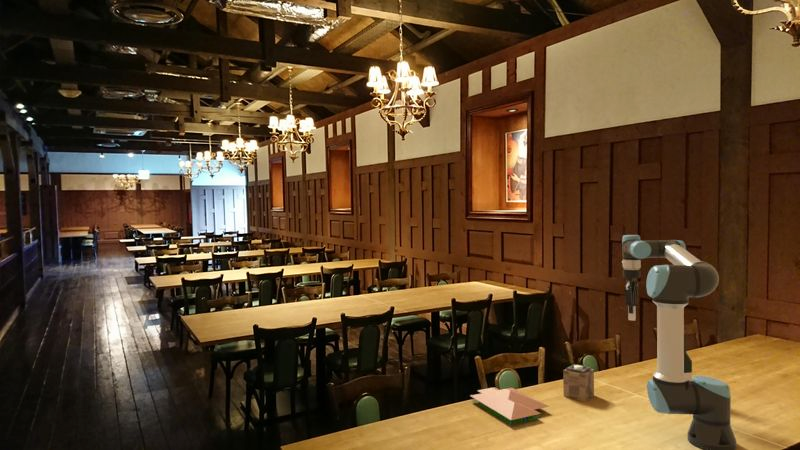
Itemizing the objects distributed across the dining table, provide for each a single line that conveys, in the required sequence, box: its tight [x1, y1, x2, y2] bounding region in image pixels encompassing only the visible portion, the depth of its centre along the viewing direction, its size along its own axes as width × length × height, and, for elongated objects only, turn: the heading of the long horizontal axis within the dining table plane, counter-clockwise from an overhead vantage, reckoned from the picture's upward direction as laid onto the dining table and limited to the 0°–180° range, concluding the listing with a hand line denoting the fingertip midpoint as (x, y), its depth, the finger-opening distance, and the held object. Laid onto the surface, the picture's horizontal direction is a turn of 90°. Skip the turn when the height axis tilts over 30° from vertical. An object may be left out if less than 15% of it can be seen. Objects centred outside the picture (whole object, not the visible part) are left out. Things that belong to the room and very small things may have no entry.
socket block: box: [562, 363, 595, 402], centre depth 233 cm, size 10×10×13 cm
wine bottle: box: [684, 330, 693, 381], centre depth 228 cm, size 8×8×30 cm
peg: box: [574, 364, 584, 370], centre depth 233 cm, size 4×4×12 cm
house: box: [470, 387, 550, 427], centre depth 220 cm, size 23×33×8 cm
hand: (631, 320), depth 232 cm, fingers closed
